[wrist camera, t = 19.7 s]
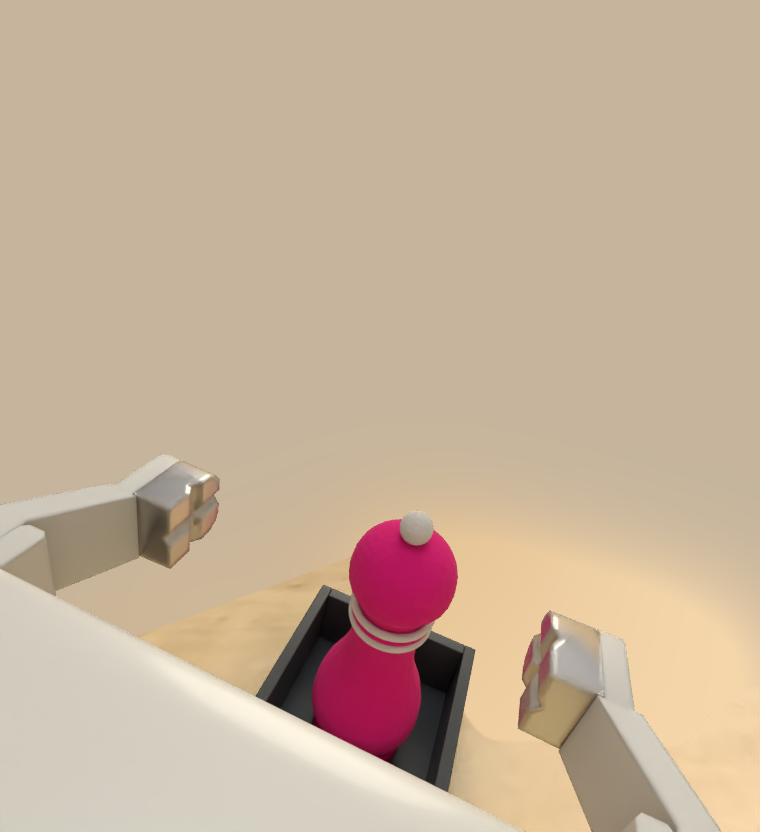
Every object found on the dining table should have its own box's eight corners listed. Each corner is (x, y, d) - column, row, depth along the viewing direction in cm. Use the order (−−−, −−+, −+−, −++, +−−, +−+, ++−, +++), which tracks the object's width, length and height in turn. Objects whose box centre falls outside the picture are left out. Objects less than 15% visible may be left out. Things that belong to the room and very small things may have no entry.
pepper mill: (391, 676, 39) (458, 473, 29) (418, 778, 33) (513, 565, 23) (299, 686, 37) (340, 471, 27) (310, 798, 31) (367, 572, 21)
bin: (227, 783, 31) (231, 735, 28) (314, 629, 42) (323, 584, 39) (414, 885, 28) (438, 842, 26) (455, 693, 39) (475, 649, 37)
